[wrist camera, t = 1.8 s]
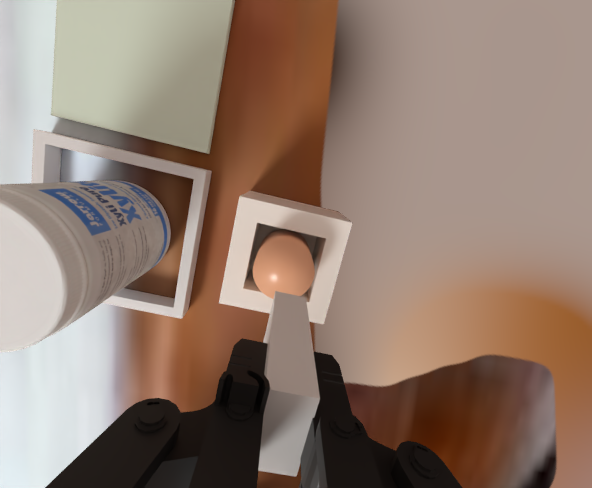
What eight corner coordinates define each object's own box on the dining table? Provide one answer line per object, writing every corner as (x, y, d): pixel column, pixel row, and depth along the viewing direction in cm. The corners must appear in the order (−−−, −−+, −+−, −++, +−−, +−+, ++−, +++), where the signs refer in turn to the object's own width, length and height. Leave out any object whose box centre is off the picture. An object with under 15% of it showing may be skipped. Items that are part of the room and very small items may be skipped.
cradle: (188, 309, 32) (181, 318, 30) (43, 280, 31) (27, 288, 29) (211, 170, 29) (206, 170, 27) (51, 132, 28) (33, 129, 26)
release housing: (316, 292, 32) (323, 324, 25) (233, 274, 32) (218, 303, 25) (337, 211, 30) (352, 222, 24) (250, 190, 30) (239, 196, 23)
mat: (209, 153, 29) (207, 153, 28) (57, 116, 28) (51, 115, 27) (236, -13, 26) (235, -18, 25) (67, -62, 24) (60, -70, 24)
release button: (303, 282, 28) (306, 306, 23) (254, 272, 27) (247, 293, 22) (315, 235, 27) (321, 249, 22) (264, 223, 26) (259, 235, 21)
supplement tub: (178, 189, 29) (75, 205, 15) (169, 279, 32) (72, 368, 17) (76, 170, 29) (-133, 169, 14) (74, 264, 31) (-110, 343, 17)
